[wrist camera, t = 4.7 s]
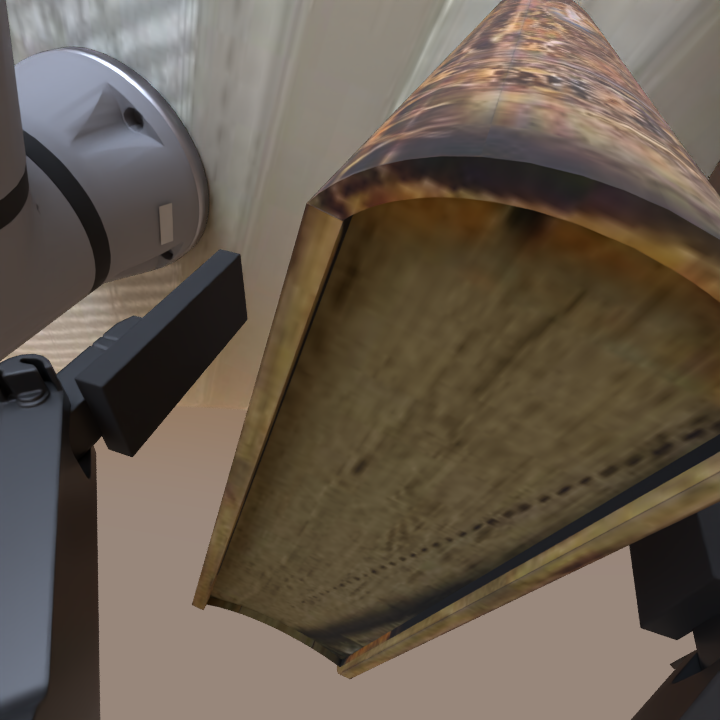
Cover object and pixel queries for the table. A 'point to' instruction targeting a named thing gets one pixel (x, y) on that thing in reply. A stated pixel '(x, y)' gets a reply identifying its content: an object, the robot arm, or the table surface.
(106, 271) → the robot arm
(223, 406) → the table surface
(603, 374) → the book
